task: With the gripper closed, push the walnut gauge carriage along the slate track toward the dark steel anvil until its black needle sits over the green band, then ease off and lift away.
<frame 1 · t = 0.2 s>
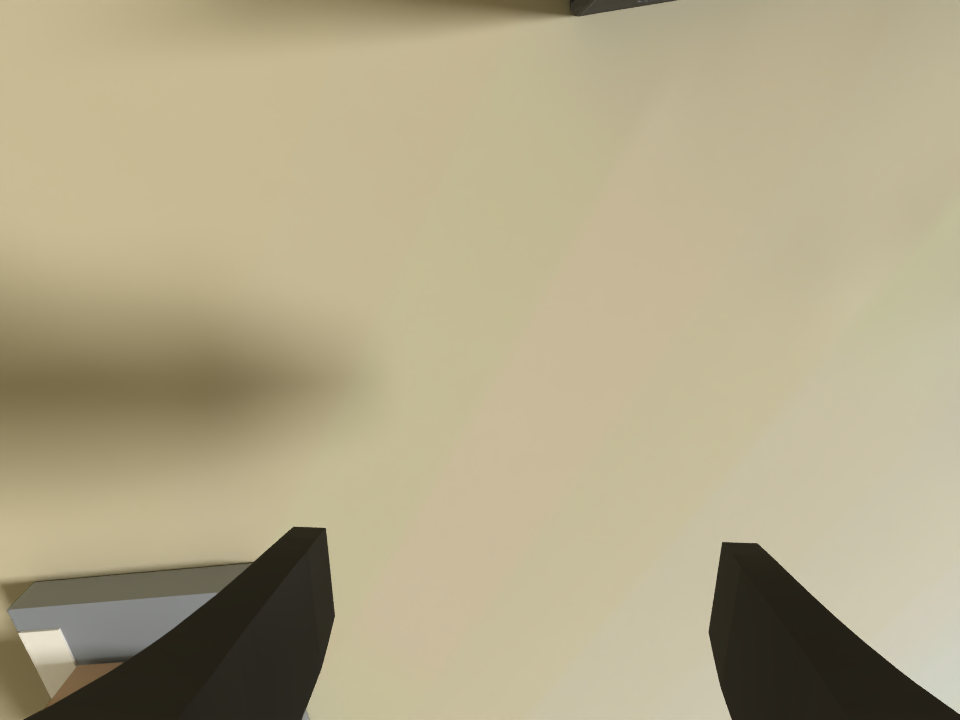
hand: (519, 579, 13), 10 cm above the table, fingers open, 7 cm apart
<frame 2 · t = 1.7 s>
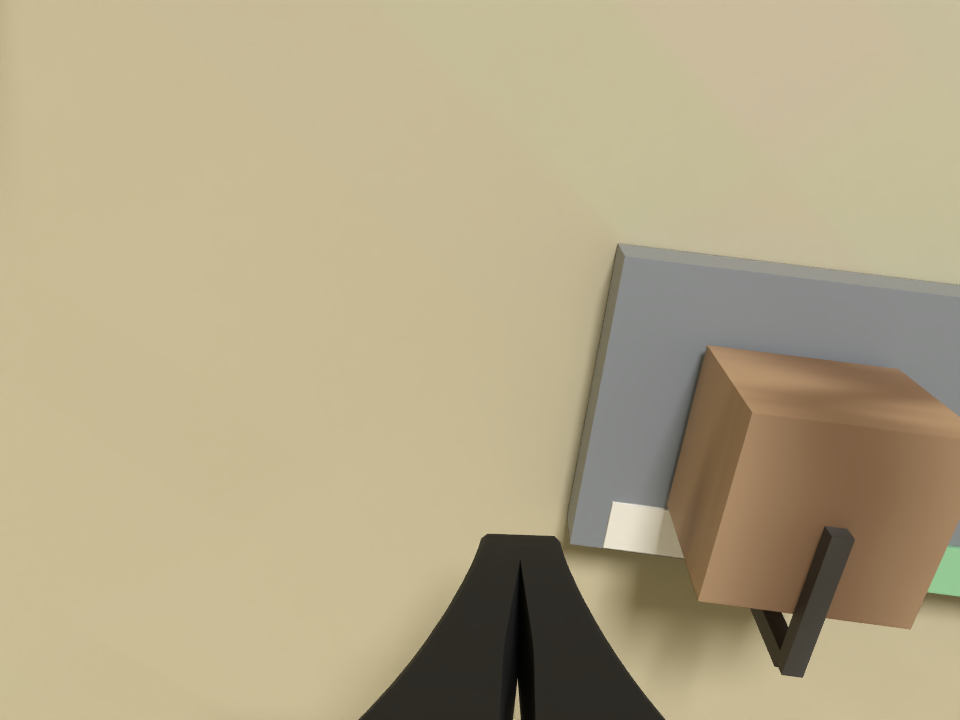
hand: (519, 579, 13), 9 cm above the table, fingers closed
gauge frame: (925, 432, 21), on the table
gauge carriage: (796, 511, 17), point 4 cm above the table, slide at 0.0 cm
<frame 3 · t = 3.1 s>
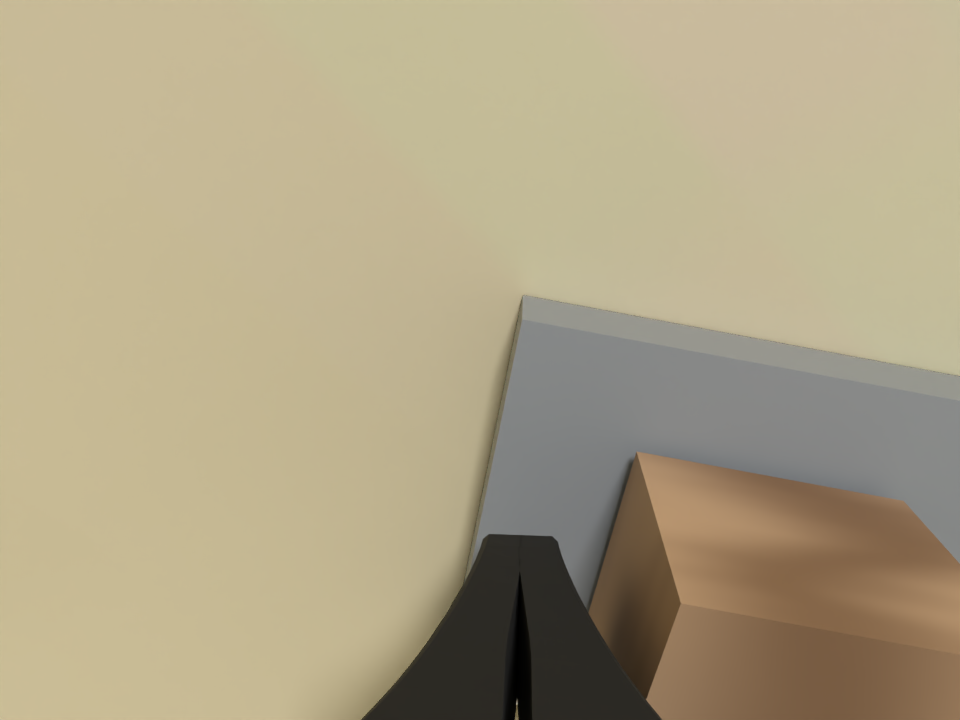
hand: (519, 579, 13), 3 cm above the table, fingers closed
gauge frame: (926, 569, 15), on the table
gauge carriage: (747, 706, 12), point 4 cm above the table, slide at 0.0 cm, touching gripper
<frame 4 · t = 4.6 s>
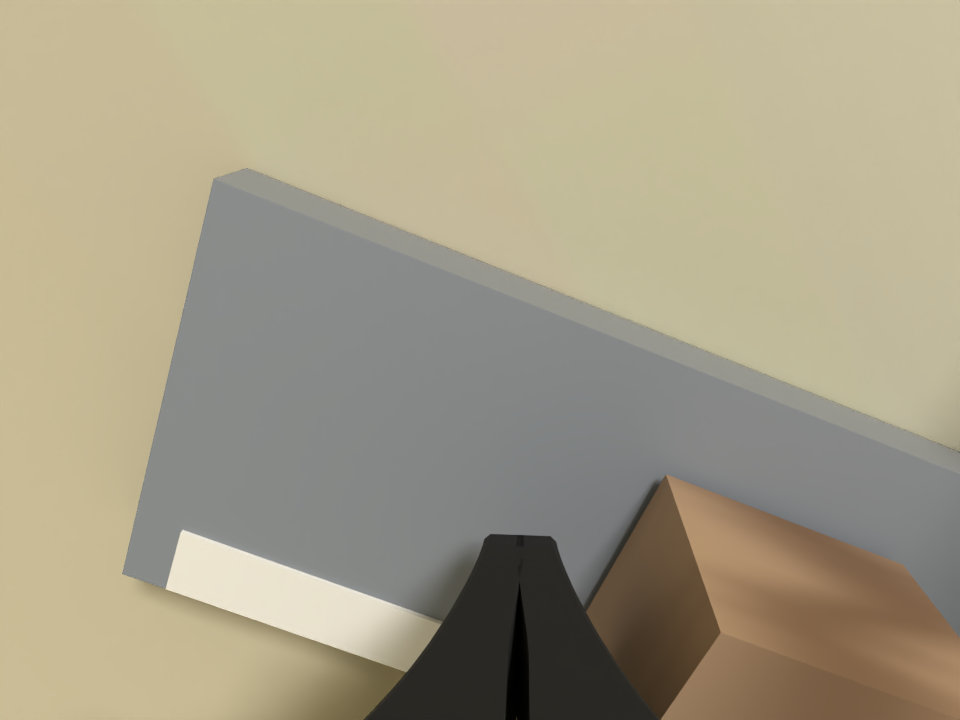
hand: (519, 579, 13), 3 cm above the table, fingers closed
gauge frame: (626, 530, 16), on the table
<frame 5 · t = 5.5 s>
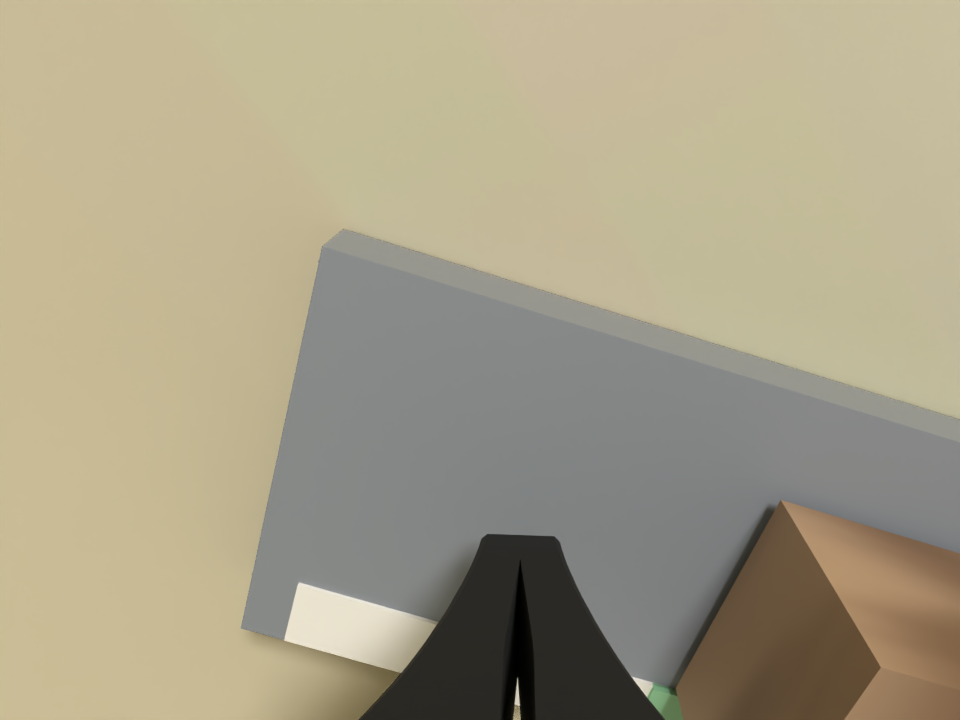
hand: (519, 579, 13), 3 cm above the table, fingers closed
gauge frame: (730, 552, 16), on the table
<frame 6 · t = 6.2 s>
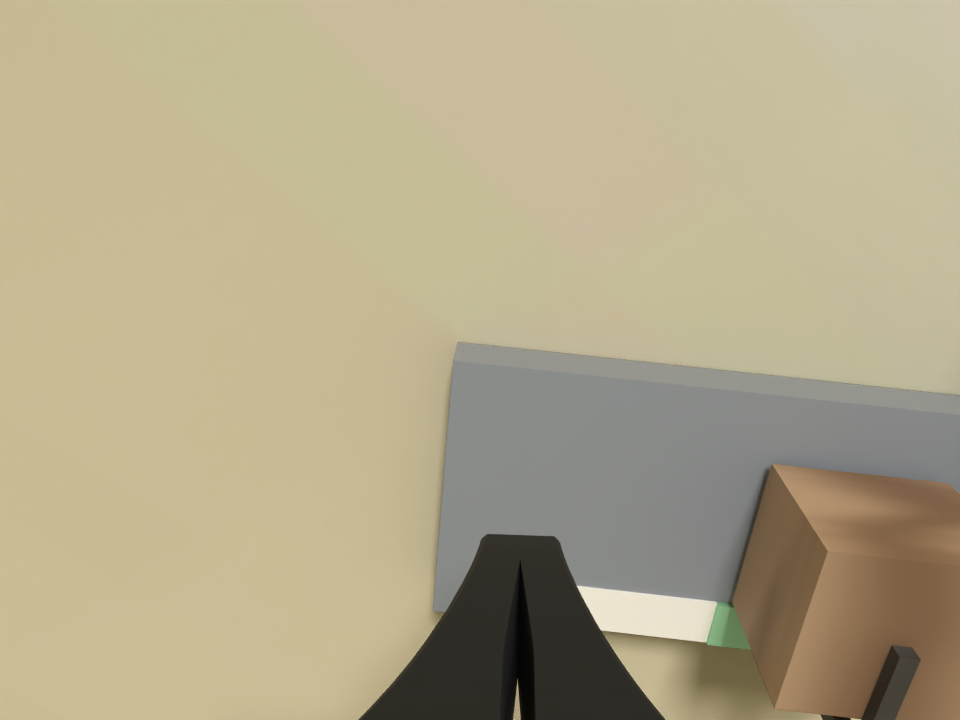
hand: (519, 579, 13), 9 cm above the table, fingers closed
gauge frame: (754, 504, 22), on the table
gauge carriage: (859, 619, 19), point 4 cm above the table, slide at 6.9 cm
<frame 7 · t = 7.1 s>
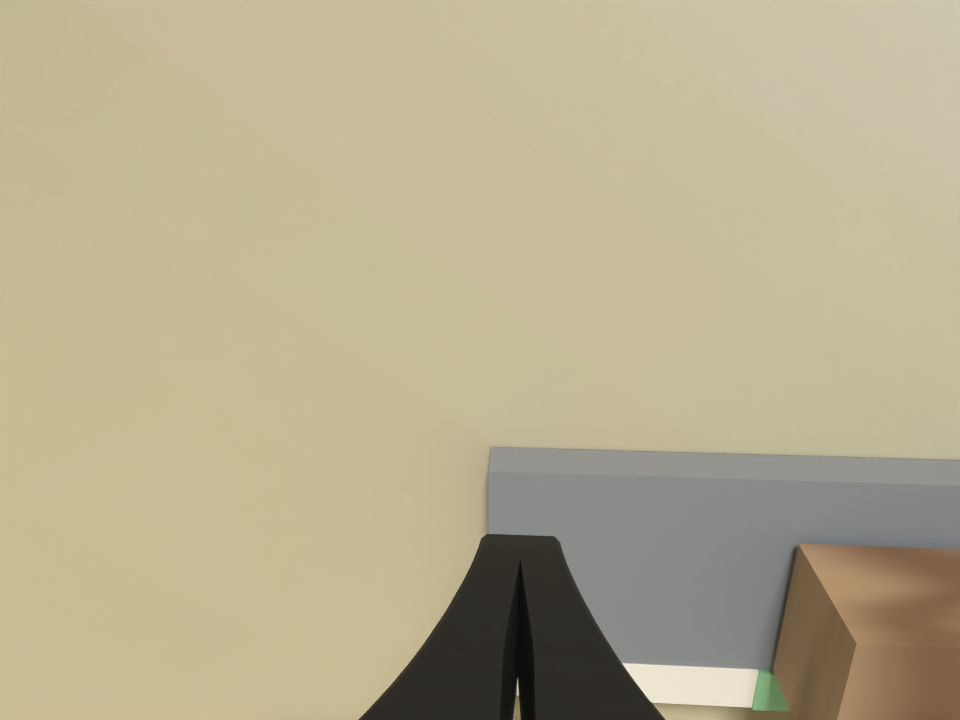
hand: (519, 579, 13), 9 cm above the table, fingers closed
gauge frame: (786, 572, 23), on the table
gauge carriage: (896, 690, 20), point 4 cm above the table, slide at 6.9 cm
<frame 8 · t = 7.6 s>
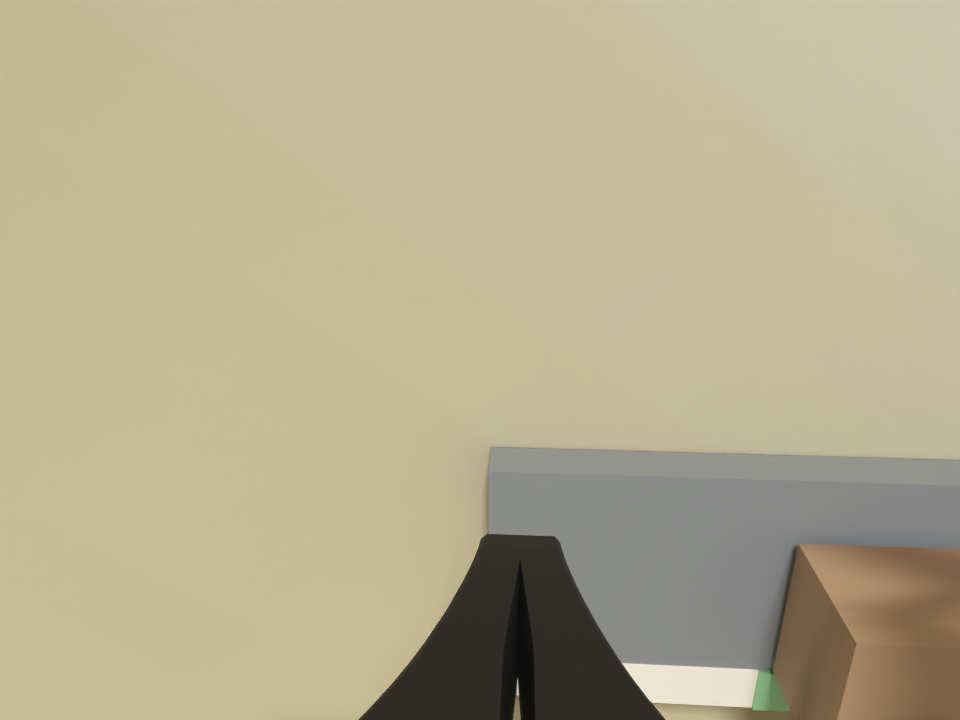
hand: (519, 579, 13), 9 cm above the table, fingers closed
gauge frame: (786, 572, 23), on the table
gauge carriage: (896, 690, 20), point 4 cm above the table, slide at 6.9 cm
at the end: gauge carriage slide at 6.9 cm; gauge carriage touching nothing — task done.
